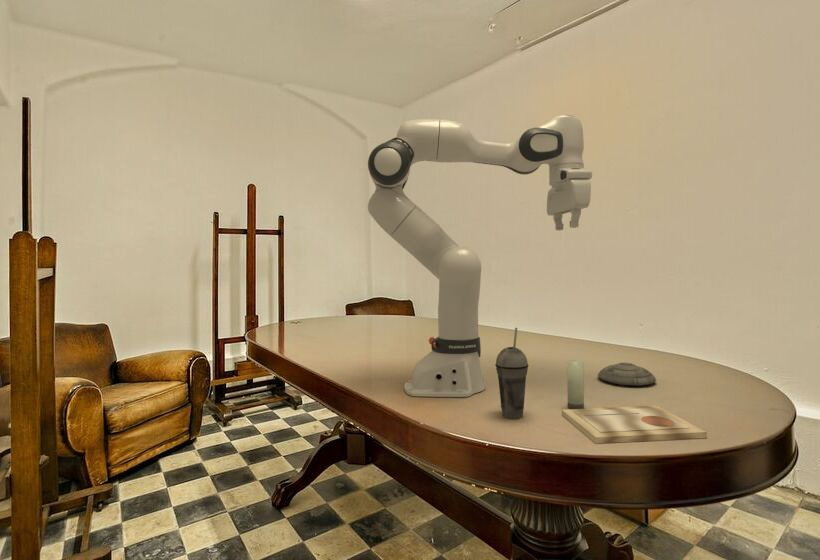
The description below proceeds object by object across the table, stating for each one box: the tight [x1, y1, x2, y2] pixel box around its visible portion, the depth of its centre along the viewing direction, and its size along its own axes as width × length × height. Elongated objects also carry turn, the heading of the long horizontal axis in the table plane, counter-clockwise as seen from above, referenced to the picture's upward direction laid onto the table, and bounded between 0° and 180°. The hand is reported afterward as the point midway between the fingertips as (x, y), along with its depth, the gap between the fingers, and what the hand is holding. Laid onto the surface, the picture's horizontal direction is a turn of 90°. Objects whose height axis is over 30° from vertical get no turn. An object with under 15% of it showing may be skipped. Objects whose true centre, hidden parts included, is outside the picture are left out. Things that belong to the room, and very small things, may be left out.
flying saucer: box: [597, 362, 657, 386], centre depth 127 cm, size 15×15×6 cm
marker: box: [566, 359, 585, 409], centre depth 104 cm, size 4×4×11 cm
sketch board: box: [561, 405, 708, 444], centre depth 93 cm, size 22×16×2 cm
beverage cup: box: [495, 327, 529, 420], centre depth 100 cm, size 7×7×20 cm
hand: (566, 229), depth 121 cm, fingers open, 8 cm apart
